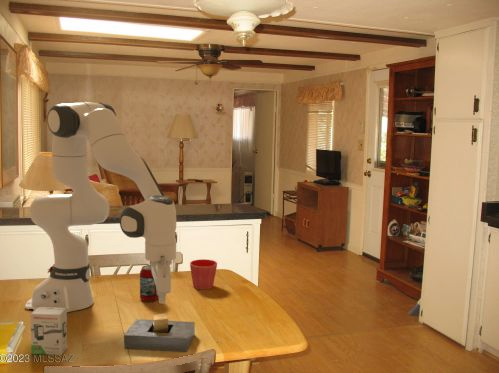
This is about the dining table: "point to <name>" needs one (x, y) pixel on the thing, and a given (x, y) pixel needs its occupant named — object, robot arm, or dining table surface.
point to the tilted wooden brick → (160, 323)
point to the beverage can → (147, 284)
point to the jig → (159, 336)
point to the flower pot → (203, 273)
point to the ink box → (48, 330)
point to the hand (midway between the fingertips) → (160, 298)
